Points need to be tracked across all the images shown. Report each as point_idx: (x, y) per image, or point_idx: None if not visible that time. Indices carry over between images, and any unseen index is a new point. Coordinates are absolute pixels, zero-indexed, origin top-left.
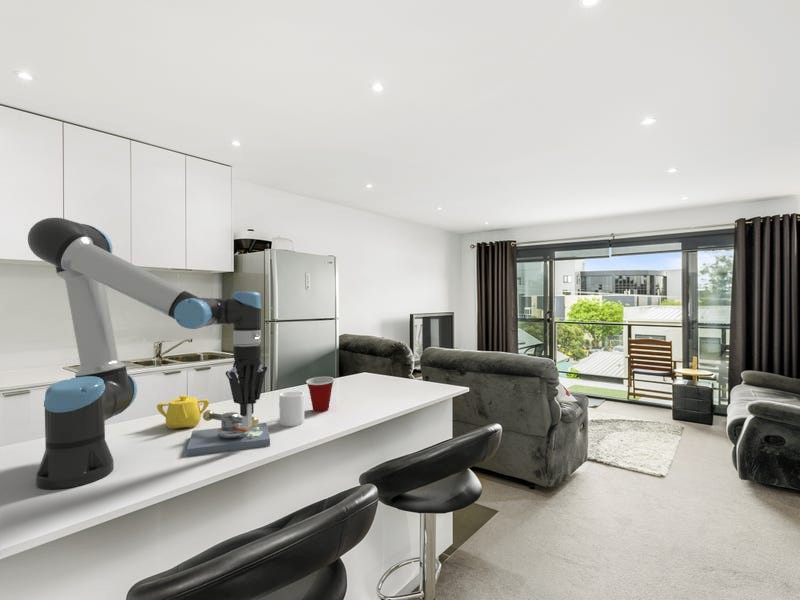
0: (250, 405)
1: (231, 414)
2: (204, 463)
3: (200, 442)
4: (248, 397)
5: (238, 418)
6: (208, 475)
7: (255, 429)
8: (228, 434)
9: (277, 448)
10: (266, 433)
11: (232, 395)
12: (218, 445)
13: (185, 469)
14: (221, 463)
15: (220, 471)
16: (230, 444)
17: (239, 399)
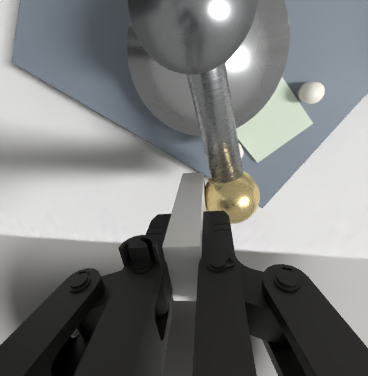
0: (194, 293)
1: (198, 13)
2: (66, 166)
3: (67, 21)
4: (217, 299)
5: (201, 112)
6: (59, 231)
7: (300, 93)
8: (151, 110)
9: (253, 228)
10: (303, 150)
11: (5, 342)
12: (113, 120)
13: (20, 164)
14: (99, 199)
15: (84, 234)
16: (149, 141)
17: (78, 355)
